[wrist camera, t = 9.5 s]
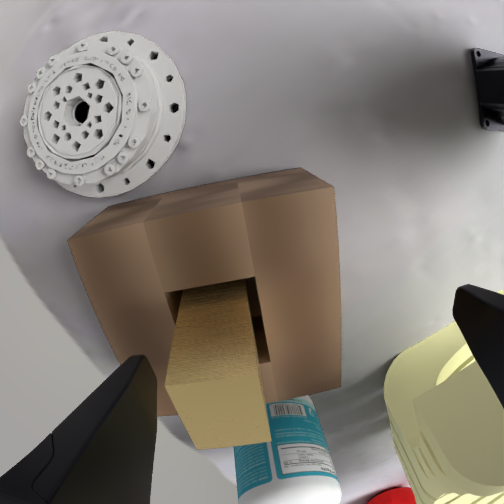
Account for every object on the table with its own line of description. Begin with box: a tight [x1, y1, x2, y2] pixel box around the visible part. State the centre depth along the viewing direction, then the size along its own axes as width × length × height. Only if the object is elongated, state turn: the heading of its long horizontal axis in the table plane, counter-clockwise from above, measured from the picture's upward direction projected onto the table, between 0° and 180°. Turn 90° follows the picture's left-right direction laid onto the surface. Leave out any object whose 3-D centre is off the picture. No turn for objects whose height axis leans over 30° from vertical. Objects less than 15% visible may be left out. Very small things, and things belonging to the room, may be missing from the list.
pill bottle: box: [234, 395, 341, 504], centre depth 20 cm, size 8×7×14 cm
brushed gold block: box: [165, 278, 272, 450], centre depth 15 cm, size 3×4×10 cm
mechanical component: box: [20, 31, 186, 198], centre depth 14 cm, size 10×4×10 cm
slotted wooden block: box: [67, 168, 342, 416], centre depth 18 cm, size 12×12×6 cm
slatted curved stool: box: [384, 289, 504, 504], centre depth 19 cm, size 30×16×18 cm, turn 24°
